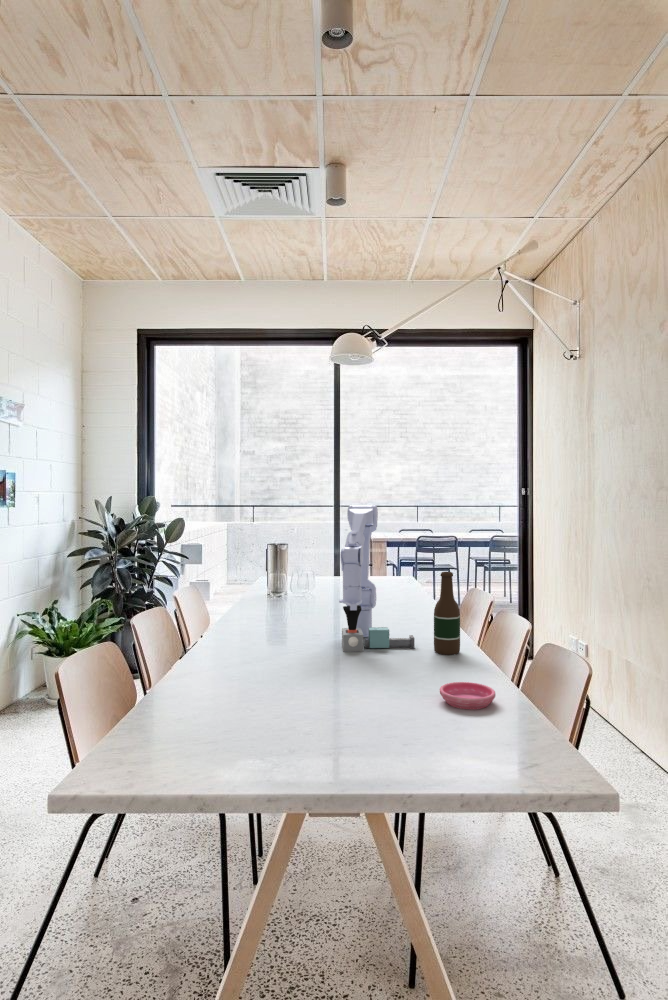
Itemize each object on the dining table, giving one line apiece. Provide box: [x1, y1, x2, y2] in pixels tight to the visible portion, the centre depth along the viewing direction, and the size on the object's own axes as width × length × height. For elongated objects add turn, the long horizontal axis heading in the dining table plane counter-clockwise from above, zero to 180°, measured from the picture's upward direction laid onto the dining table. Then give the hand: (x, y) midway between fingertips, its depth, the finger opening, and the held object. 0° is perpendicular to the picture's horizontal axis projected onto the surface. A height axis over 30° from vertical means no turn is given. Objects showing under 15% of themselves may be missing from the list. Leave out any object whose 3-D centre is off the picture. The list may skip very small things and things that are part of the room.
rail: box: [364, 634, 415, 649], centre depth 198 cm, size 4×15×3 cm, turn 92°
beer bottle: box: [433, 571, 461, 656], centre depth 191 cm, size 8×8×24 cm
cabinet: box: [341, 627, 364, 653], centre depth 197 cm, size 10×6×5 cm, turn 2°
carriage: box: [368, 626, 390, 649], centre depth 198 cm, size 4×6×5 cm
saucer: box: [439, 681, 496, 710], centre depth 145 cm, size 12×12×3 cm
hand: (352, 629), depth 197 cm, fingers closed, pressing on plunger
